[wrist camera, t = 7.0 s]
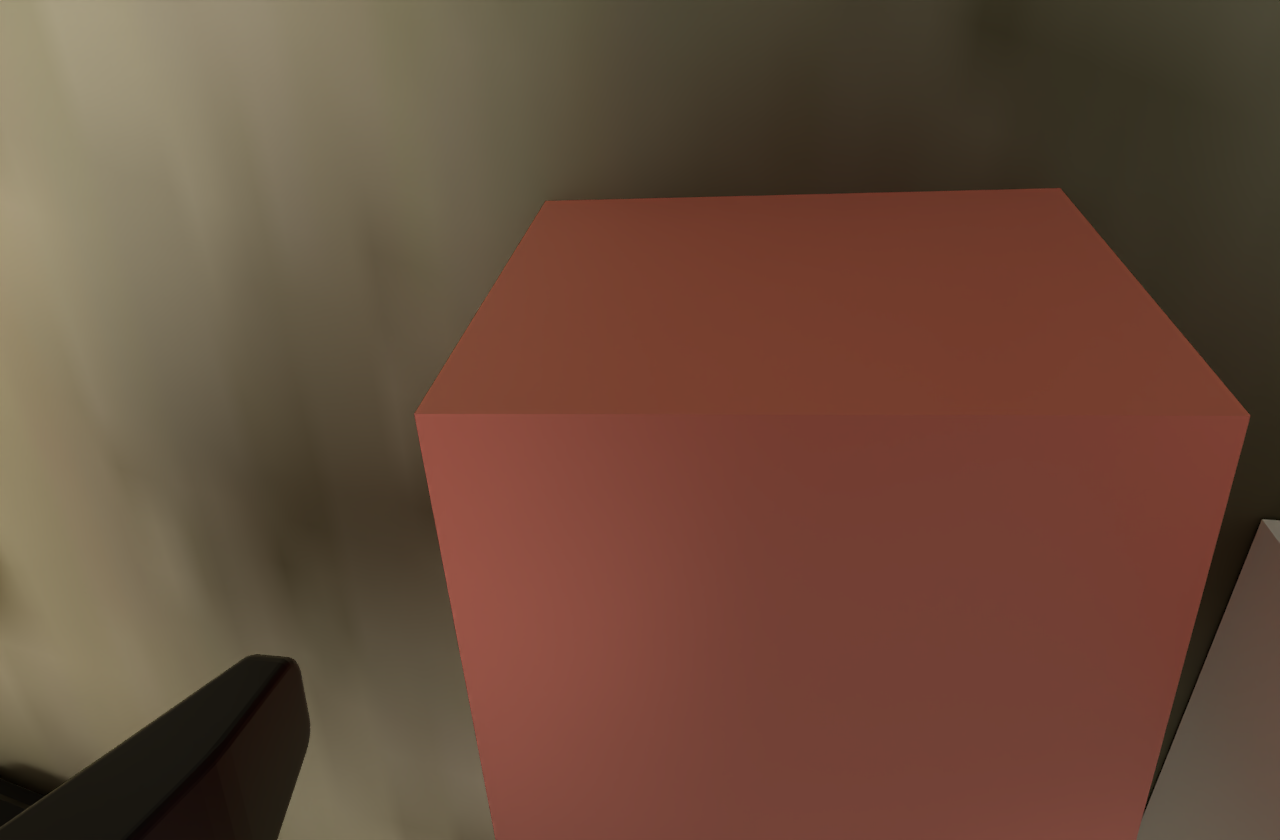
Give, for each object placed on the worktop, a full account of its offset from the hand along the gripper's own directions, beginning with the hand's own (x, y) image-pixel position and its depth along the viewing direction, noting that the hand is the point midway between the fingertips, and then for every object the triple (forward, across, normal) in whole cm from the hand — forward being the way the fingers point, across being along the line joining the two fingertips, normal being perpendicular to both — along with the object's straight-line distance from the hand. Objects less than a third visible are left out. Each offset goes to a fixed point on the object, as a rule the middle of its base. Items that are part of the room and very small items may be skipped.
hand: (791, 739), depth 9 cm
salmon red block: (+4, 0, 0) cm, 5 cm away
